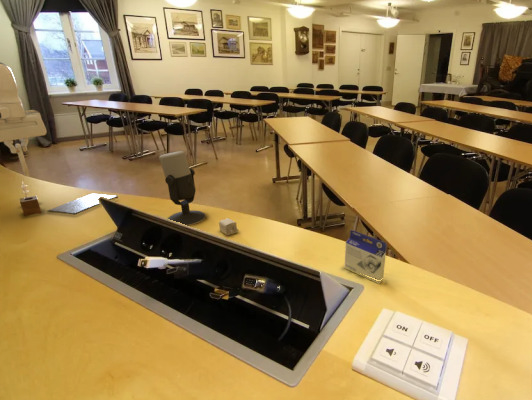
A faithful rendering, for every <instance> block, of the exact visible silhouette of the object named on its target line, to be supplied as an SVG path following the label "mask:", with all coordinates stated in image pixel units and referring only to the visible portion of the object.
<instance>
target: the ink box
mask: <svg viewBox="0 0 532 400" xmlns="http://www.w3.org/2000/svg"><path fill="white" fill-rule="evenodd" d="M349 231H350V232H349V238H348V239H347V240H346V241H345V250H344V264H343V265H344V269H346V270H348V271H349V272H352V273H354V274H356V275H359V276H360V277H363V278H365V279H367V280H369V281H371V282H373V283H376V284H378V285H380V284H381V283H382V282H383V281H384V276H385V267H386V255H387V247H388V243H387V242H386V241H384V240H380V239H377V238H375V237H372V236H370V235H368V234H364V233H361V232H359V231H356V230H354V229H350V230H349ZM367 240H368V241H367ZM360 273H361V274H360ZM363 274H364V275H363ZM365 275H367V276H369V277H372V278H375V279H377V280H381V279H382V278H383V279H382V280H381V281H376V280H374V279H372V278H369V277H367V276H365Z"/></svg>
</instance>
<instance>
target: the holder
mask: <svg viewBox="0 0 532 400" xmlns="http://www.w3.org/2000/svg"><path fill="white" fill-rule="evenodd" d="M19 203H20V207H21V209H22V212H23V215H24V217H27V216H31V215H32V216H33V215H38V214H42V208H41V204H40V202H39V199H38V196H37V195H33V196H30V197H21V198H19Z"/></svg>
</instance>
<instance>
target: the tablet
mask: <svg viewBox="0 0 532 400" xmlns="http://www.w3.org/2000/svg"><path fill="white" fill-rule="evenodd" d="M100 197H104V198H107V199H110V200H109V201H111V200H113V199H118V195H112V194H103V193H90V194H86V195H84V196H81V197H79V198H76V199H74V200H71V201H68V202H65V203H64V204H61V205H58V206H56V207H53V208H50V209H48V210H47V212H49V213H56V214H58V213H59V214H67V215H75V216H76V215H78V214H80V213H83V212H86V211H88V210H90V209H92V208H94V207H97V206H99V205H101V204H100V203H99V200H98V199H99V198H100Z"/></svg>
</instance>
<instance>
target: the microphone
mask: <svg viewBox="0 0 532 400" xmlns="http://www.w3.org/2000/svg"><path fill="white" fill-rule="evenodd" d="M158 159H159V162H160V165H161V169H162V173H163V175H164V178H165V179H164V180H165V181H164V182H165V183H166V185H167V187H168V194H169V199H170V200H171V202H172V203H173V204H174V205H177V206H180V208H181V211H179V212H176V213H174V214H172V215H169V217H168V218H167V220H168V219H170V220H173V221H176V222H180V223H182V224H185V225H188V226H189V227H190V226H193V225H197V224H199V223H201V222H203V221H204V220H205V219H206V213H205V212H203V211H201V210H190V204H191V203H193V201H194V200H195V196H196V191H197V190H196V184H195V179H194V178H195V177H194V176H195V174H196V173H195V170H194V169H193V168H190V165H189V162H188V158H187V156H186V152H185V151H183V150H179V151H173V152H168V153H165V154H160V156H159V157H158ZM188 226H187V227H188Z"/></svg>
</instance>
